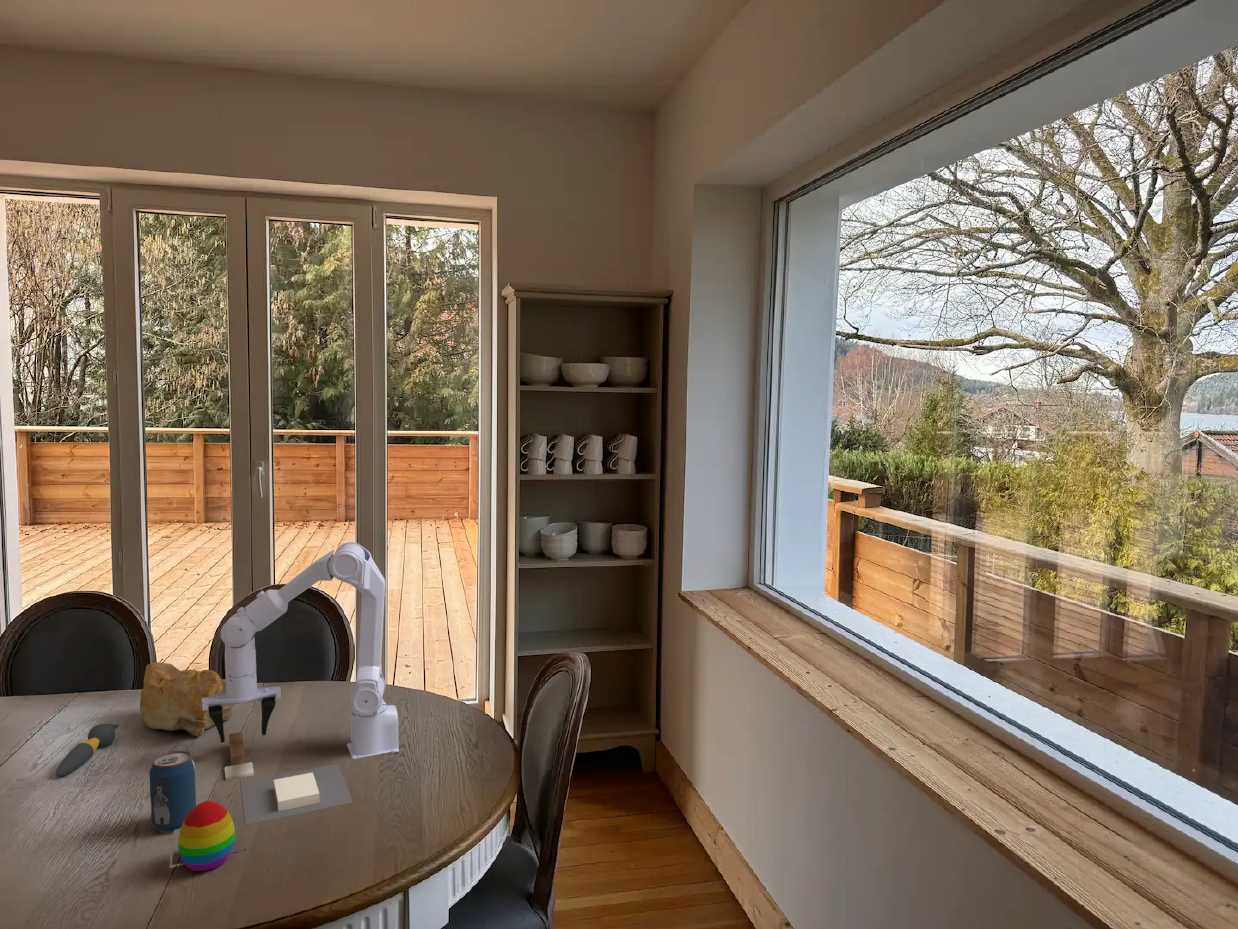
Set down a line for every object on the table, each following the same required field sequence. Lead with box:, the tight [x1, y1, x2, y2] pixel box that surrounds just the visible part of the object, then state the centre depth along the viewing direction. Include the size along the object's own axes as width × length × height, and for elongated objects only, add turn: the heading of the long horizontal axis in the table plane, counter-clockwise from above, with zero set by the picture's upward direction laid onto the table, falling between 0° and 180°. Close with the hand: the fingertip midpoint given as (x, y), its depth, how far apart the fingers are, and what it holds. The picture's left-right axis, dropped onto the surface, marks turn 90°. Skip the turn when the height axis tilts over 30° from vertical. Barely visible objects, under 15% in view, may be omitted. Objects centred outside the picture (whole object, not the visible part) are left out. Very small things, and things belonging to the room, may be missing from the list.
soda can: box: [148, 750, 197, 834], centre depth 142 cm, size 7×7×12 cm
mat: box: [240, 763, 354, 826], centre depth 154 cm, size 18×17×1 cm
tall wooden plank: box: [224, 731, 255, 781], centre depth 166 cm, size 5×17×3 cm, turn 28°
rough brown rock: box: [139, 661, 234, 737], centre depth 184 cm, size 23×16×15 cm
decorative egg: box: [177, 800, 236, 872], centre depth 132 cm, size 8×8×10 cm
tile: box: [274, 772, 319, 811], centre depth 152 cm, size 7×2×9 cm
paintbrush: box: [55, 722, 120, 777], centre depth 167 cm, size 20×5×5 cm, turn 8°
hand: (243, 737), depth 167 cm, fingers open, 7 cm apart
